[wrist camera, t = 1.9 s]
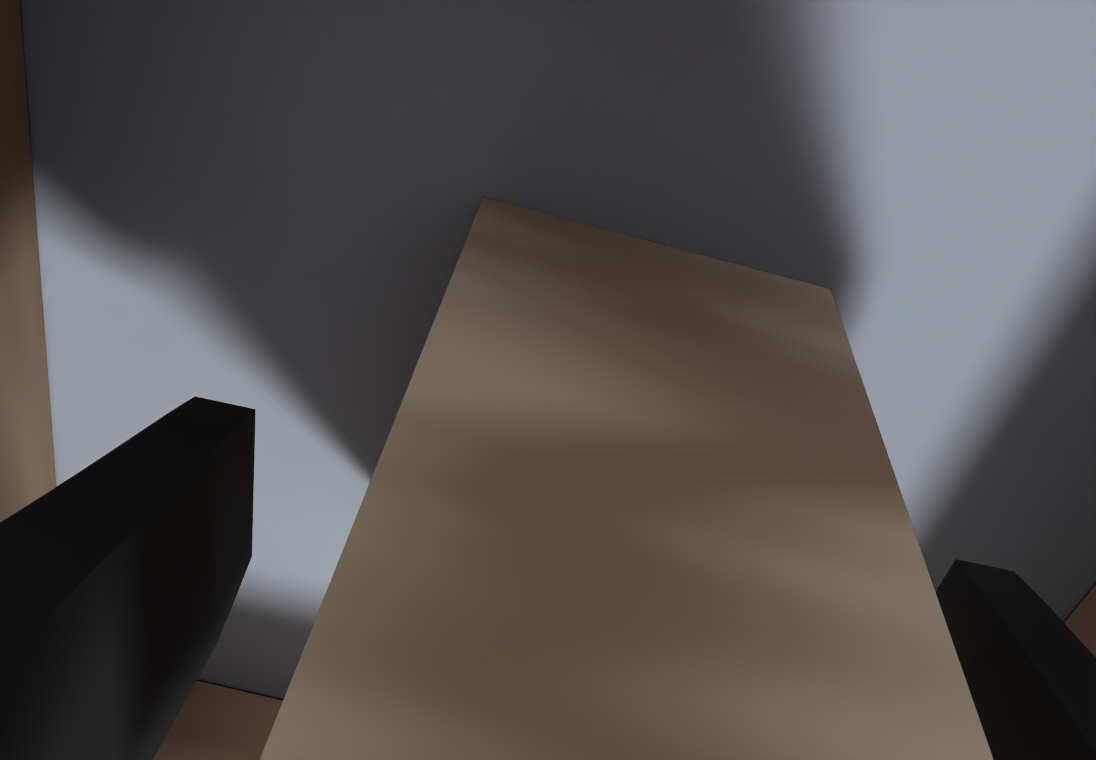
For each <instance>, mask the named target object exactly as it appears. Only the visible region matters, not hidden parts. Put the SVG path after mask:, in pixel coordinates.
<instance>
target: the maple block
mask: <svg viewBox="0 0 1096 760" xmlns="http://www.w3.org/2000/svg"><path fill="white" fill-rule="evenodd" d="M260 760H993V757H992V754H991V751H990V748H989V745H988V742H987V739H986V736H985V734H984V731H983V728H982V725H981V722H980V719H979V716H978V713H977V711H976V708H975V705H974V702H973V699H972V696H971V693H970V690H969V687H968V685H967V682H966V679H965V676H964V673H963V670H962V667H961V664H960V662H959V659H958V656H957V653H956V650H955V647H954V644H953V641H952V638H951V636H950V633H949V630H948V627H947V624H946V621H945V618H944V615H943V613H942V610H941V607H940V604H939V601H938V598H937V595H936V592H935V589H934V587H933V584H932V581H931V578H930V575H929V572H928V569H927V566H926V564H925V561H924V558H923V555H922V552H921V549H920V546H919V543H918V540H917V538H916V535H915V532H914V529H913V526H912V523H911V520H910V517H909V514H908V512H907V509H906V506H905V503H904V500H903V497H902V494H901V491H900V489H899V486H898V483H897V480H896V477H895V474H894V471H893V468H892V465H891V463H890V460H889V457H888V454H887V451H886V448H885V445H884V442H883V440H882V437H881V434H880V431H879V428H878V425H877V422H876V419H875V416H874V414H873V411H872V408H871V405H870V402H869V399H868V396H867V393H866V391H865V388H864V385H863V382H862V379H861V376H860V373H859V370H858V367H857V365H856V362H855V359H854V356H853V353H852V350H851V347H850V344H849V341H848V339H847V336H846V333H845V330H844V327H843V324H842V321H841V318H840V316H839V313H838V310H837V307H836V304H835V301H834V298H833V295H832V292H831V290H830V289H828V288H824V287H821V286H817V285H813V284H809V283H805V282H802V281H798V280H794V279H790V278H787V277H783V276H779V275H775V274H772V273H768V272H764V271H760V270H757V269H753V268H749V267H745V266H741V265H738V264H734V263H730V262H726V261H723V260H719V259H715V258H711V257H708V256H704V255H700V254H696V253H693V252H689V251H685V250H681V249H677V248H674V247H670V246H666V245H662V244H659V243H655V242H651V241H647V240H644V239H640V238H636V237H632V236H629V235H625V234H621V233H617V232H613V231H610V230H606V229H602V228H598V227H595V226H591V225H587V224H583V223H580V222H576V221H572V220H568V219H565V218H561V217H557V216H553V215H549V214H546V213H542V212H538V211H534V210H531V209H527V208H523V207H519V206H516V205H512V204H508V203H504V202H501V201H497V200H493V199H489V198H485V197H483V199H482V201H481V204H480V206H479V209H478V211H477V214H476V216H475V219H474V221H473V224H472V227H471V229H470V232H469V234H468V237H467V239H466V242H465V244H464V247H463V249H462V252H461V254H460V257H459V259H458V262H457V264H456V267H455V269H454V272H453V274H452V277H451V279H450V282H449V284H448V287H447V289H446V292H445V295H444V297H443V300H442V302H441V305H440V307H439V310H438V312H437V315H436V317H435V320H434V322H433V325H432V327H431V330H430V332H429V335H428V337H427V340H426V342H425V345H424V347H423V350H422V352H421V355H420V357H419V360H418V363H417V365H416V368H415V370H414V373H413V375H412V378H411V380H410V383H409V385H408V388H407V390H406V393H405V395H404V398H403V400H402V403H401V405H400V408H399V410H398V413H397V415H396V418H395V420H394V423H393V425H392V428H391V430H390V433H389V436H388V438H387V441H386V443H385V446H384V448H383V451H382V453H381V456H380V458H379V461H378V463H377V466H376V468H375V471H374V473H373V476H372V478H371V481H370V483H369V486H368V488H367V491H366V493H365V496H364V498H363V501H362V504H361V506H360V509H359V511H358V514H357V516H356V519H355V521H354V524H353V526H352V529H351V531H350V534H349V536H348V539H347V541H346V544H345V546H344V549H343V551H342V554H341V556H340V559H339V561H338V564H337V566H336V569H335V572H334V574H333V577H332V579H331V582H330V584H329V587H328V589H327V592H326V594H325V597H324V599H323V602H322V604H321V607H320V609H319V612H318V614H317V617H316V619H315V622H314V624H313V627H312V629H311V632H310V634H309V637H308V639H307V642H306V645H305V647H304V650H303V652H302V655H301V657H300V660H299V662H298V665H297V667H296V670H295V672H294V675H293V677H292V680H291V682H290V685H289V687H288V690H287V692H286V695H285V697H284V700H283V702H282V705H281V707H280V710H279V713H278V715H277V718H276V720H275V723H274V725H273V728H272V730H271V733H270V735H269V738H268V740H267V743H266V745H265V748H264V750H263V753H262V755H261V758H260Z"/></svg>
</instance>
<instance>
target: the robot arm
mask: <svg viewBox="0 0 1096 760" xmlns="http://www.w3.org/2000/svg"><path fill="white" fill-rule="evenodd" d="M254 443H255V409H251V408H246V407H241V406H237V405H232V404H227V403H223V402H218V401H213V400H209V399H204V398H199V397H193V398H192V399H190V400H189V401H187V402H185V403H184V404H182V405H181V406H179V407H177V408H176V409H174V410H173V411H171V412H170V413H168V414H166V415H165V416H163V417H162V418H160V419H159V420H157V421H156V422H154V423H153V424H151V425H150V426H148V427H147V428H145V429H144V430H142V431H141V432H139V433H138V434H136V435H135V436H133V437H132V438H130V439H129V440H127V441H126V442H124V443H123V444H121V445H120V446H118V447H117V448H115V449H114V450H112V451H111V452H109V453H108V454H106V455H105V456H103V457H102V458H100V459H99V460H97V461H96V462H94V463H93V464H91V465H90V466H88V467H87V468H85V469H84V470H82V471H80V472H79V473H77V474H76V475H74V476H73V477H71V478H70V479H68V480H66V481H65V482H63V483H62V484H60V485H59V486H57V487H55V488H54V489H52V490H51V491H49V492H47V493H46V494H44V495H43V496H41V497H40V498H38V499H36V500H35V501H33V502H32V503H30V504H29V505H27V506H25V507H24V508H22V509H21V510H19V511H17V512H16V513H14V514H13V515H11V516H10V517H8V518H6V519H5V520H3V521H1V522H0V760H153V758H154V757H155V755H156V753H157V751H158V749H159V748H160V746H161V744H162V742H163V740H164V739H165V737H166V735H167V733H168V731H169V730H170V728H171V726H172V724H173V722H174V721H175V719H176V717H177V715H178V713H179V712H180V710H181V708H182V706H183V704H184V703H185V701H186V699H187V697H188V695H189V693H190V692H191V690H192V688H193V686H194V684H195V682H196V681H197V679H198V677H199V675H200V673H201V672H202V670H203V668H204V666H205V664H206V662H207V660H208V659H209V657H210V655H211V653H212V651H213V649H214V647H215V646H216V643H217V641H218V638H219V636H220V634H221V631H222V629H223V627H224V624H225V622H226V619H227V617H228V615H229V612H230V610H231V607H232V605H233V602H234V600H235V597H236V595H237V592H238V590H239V587H240V585H241V582H242V580H243V577H244V575H245V572H246V570H247V567H248V565H249V562H250V559H251V557H252V525H253V484H254ZM936 595H937V598H938V601H939V604H940V607H941V610H942V613H943V615H944V618H945V621H946V624H947V627H948V630H949V633H950V636H951V638H952V641H953V644H954V647H955V650H956V653H957V656H958V659H959V662H960V664H961V667H962V670H963V673H964V676H965V679H966V682H967V685H968V687H969V690H970V693H971V696H972V699H973V702H974V705H975V708H976V711H977V713H978V716H979V719H980V722H981V725H982V728H983V731H984V734H985V736H986V739H987V742H988V745H989V748H990V751H991V754H992V757H993V760H1096V657H1095V656H1094V655H1093V654H1092V653H1091V652H1090V651H1089V650H1088V648H1087V647H1086V646H1085V645H1084V644H1083V643H1082V642H1081V641H1080V640H1079V639H1078V638H1077V636H1076V635H1075V634H1074V633H1073V632H1072V631H1071V630H1070V629H1069V628H1068V627H1067V626H1066V625H1065V623H1064V622H1063V621H1062V620H1061V619H1060V618H1059V617H1058V616H1057V615H1056V614H1055V613H1054V612H1053V611H1052V610H1051V608H1050V607H1049V606H1048V605H1047V604H1046V603H1045V602H1044V601H1043V600H1042V599H1041V598H1040V597H1039V596H1038V595H1037V594H1036V593H1035V592H1034V591H1033V590H1032V589H1031V588H1030V587H1029V586H1028V585H1027V584H1026V583H1025V582H1024V581H1023V580H1022V579H1021V578H1020V577H1019V576H1018V575H1017V574H1016V573H1015V572H1013V571H1008V570H1004V569H999V568H994V567H990V566H985V565H980V564H976V563H971V562H966V561H962V560H957V559H956V560H955V562H954V563H953V565H952V566H951V568H950V570H949V571H948V573H947V575H946V576H945V578H944V579H943V581H942V583H941V584H940V586H939V587H938V589H937V591H936Z"/></svg>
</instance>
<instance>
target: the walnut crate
mask: <svg viewBox="0 0 1096 760" xmlns="http://www.w3.org/2000/svg"><path fill="white" fill-rule="evenodd" d="M55 487H56V476H55V463H54V450H53V436H52V423H51V410H50V397H49V383H48V370H47V357H46V344H45V330H44V317H43V304H42V291H41V277H40V264H39V251H38V237H37V224H36V211H35V198H34V184H33V171H32V158H31V145H30V131H29V118H28V105H27V92H26V78H25V65H24V52H23V39H22V25H21V12H20V0H0V522H1V521H3V520H5V519H6V518H8V517H10V516H11V515H13V514H14V513H16V512H17V511H19V510H21V509H22V508H24V507H25V506H27V505H29V504H30V503H32V502H33V501H35V500H36V499H38V498H40V497H41V496H43V495H44V494H46V493H47V492H49V491H51V490H52V489H54V488H55ZM1064 623H1065V625H1066V626H1067V627H1068V628H1069V629H1070V630H1071V631H1072V632H1073V633H1074V634H1075V635H1076V636H1077V638H1078V639H1079V640H1080V641H1081V642H1082V643H1083V644H1084V645H1085V646H1086V647H1087V648H1088V650H1089V651H1090V652H1091V653H1092V654H1093V655H1094V656H1095V657H1096V585H1095V586H1094V587H1093V588H1092V590H1091V591H1090V592H1089V593H1088V594H1087V596H1086V597H1085V598H1084V599H1083V600H1082V602H1081V603H1080V604H1079V605H1078V607H1077V608H1076V609H1075V610H1074V611H1073V613H1072V614H1071V615H1070V616H1069V618H1068V619H1067V620H1066V621H1065V622H1064ZM282 702H283V701H282V700H278V699H273V698H269V697H265V696H260V695H256V694H252V693H247V692H243V691H239V690H235V689H230V688H226V687H222V686H217V685H213V684H209V683H204V682H200V681H196V682H195V684H194V686H193V688H192V690H191V692H190V693H189V695H188V697H187V699H186V701H185V703H184V704H183V706H182V708H181V710H180V712H179V713H178V715H177V717H176V719H175V721H174V722H173V724H172V726H171V728H170V730H169V731H168V733H167V735H166V737H165V739H164V740H163V742H162V744H161V746H160V748H159V749H158V751H157V753H156V755H155V757H154V758H153V760H260V758H261V755H262V753H263V750H264V748H265V745H266V743H267V740H268V738H269V735H270V733H271V730H272V728H273V725H274V723H275V720H276V718H277V715H278V713H279V710H280V707H281V705H282Z"/></svg>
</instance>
